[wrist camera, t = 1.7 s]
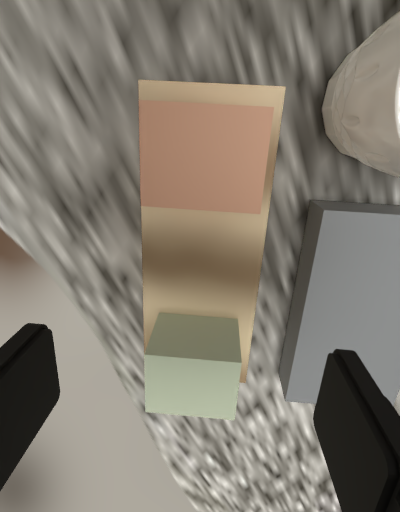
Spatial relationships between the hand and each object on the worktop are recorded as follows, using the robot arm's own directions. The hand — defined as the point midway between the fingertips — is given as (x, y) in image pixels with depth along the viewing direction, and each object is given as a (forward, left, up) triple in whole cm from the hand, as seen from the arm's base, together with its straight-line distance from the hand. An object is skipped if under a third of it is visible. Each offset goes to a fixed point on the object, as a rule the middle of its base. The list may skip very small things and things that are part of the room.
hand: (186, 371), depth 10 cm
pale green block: (+5, 0, -8) cm, 10 cm away
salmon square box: (-7, 0, -8) cm, 11 cm away
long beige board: (-1, 0, -13) cm, 13 cm away
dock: (+4, +11, -13) cm, 17 cm away
